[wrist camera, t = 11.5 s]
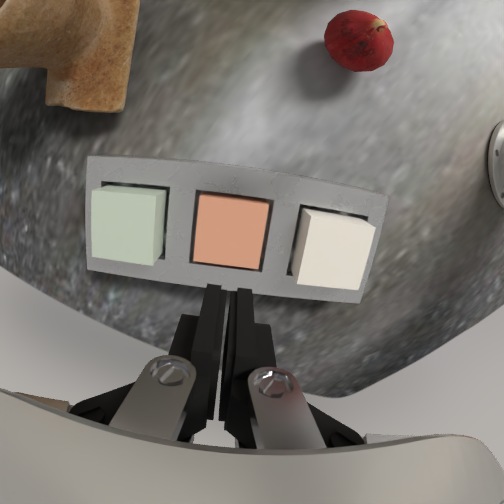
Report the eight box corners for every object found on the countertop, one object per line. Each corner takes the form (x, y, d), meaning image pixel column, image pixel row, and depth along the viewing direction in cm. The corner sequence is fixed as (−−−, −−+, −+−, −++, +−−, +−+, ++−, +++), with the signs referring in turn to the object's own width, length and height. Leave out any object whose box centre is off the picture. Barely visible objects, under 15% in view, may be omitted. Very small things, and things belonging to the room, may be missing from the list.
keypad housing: (368, 189, 26) (388, 196, 22) (345, 283, 29) (359, 303, 25) (108, 154, 24) (87, 156, 20) (105, 253, 27) (87, 269, 23)
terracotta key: (265, 198, 24) (269, 204, 22) (256, 256, 26) (258, 269, 23) (204, 190, 24) (199, 195, 21) (198, 248, 26) (193, 260, 23)
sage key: (166, 190, 22) (156, 195, 19) (162, 252, 24) (152, 265, 21) (108, 185, 21) (91, 190, 19) (106, 244, 23) (92, 256, 20)
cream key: (360, 218, 23) (375, 227, 20) (346, 275, 25) (358, 290, 22) (302, 208, 23) (311, 216, 20) (290, 268, 24) (296, 283, 22)
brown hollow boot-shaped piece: (59, 7, 17) (-18, -37, 3) (154, -16, 18) (103, -100, 4) (37, 127, 22) (-70, 132, 8) (132, 114, 23) (30, 89, 9)
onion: (352, 91, 23) (392, 73, 15) (303, 53, 21) (327, 19, 14) (381, 54, 21) (423, 31, 14) (335, 18, 20) (366, -18, 13)
